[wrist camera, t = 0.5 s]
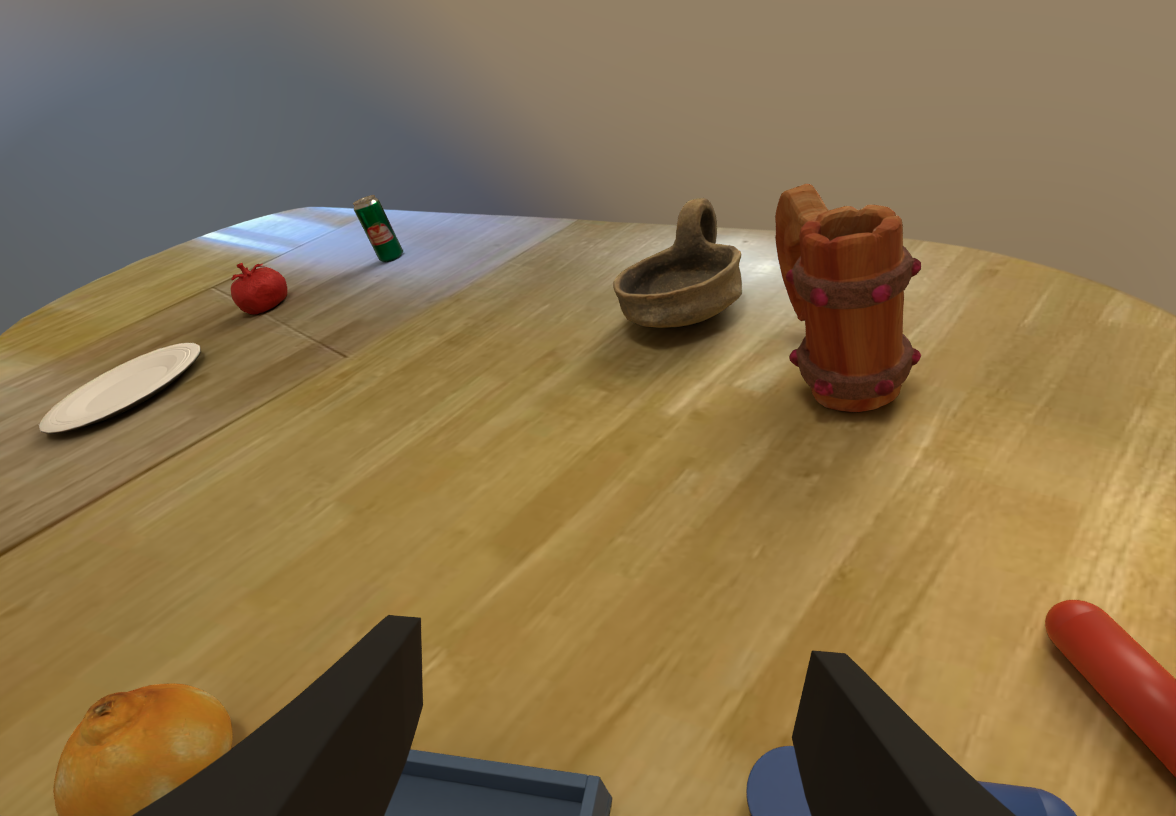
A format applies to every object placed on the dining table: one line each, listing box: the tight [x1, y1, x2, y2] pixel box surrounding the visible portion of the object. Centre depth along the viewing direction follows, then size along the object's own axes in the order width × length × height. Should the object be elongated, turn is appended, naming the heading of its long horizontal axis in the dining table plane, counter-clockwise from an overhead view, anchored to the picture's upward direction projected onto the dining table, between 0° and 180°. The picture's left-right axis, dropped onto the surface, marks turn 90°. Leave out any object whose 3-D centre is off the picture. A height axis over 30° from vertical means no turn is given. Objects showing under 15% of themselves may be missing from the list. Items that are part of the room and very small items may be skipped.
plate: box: [39, 343, 200, 434], centre depth 99 cm, size 25×25×2 cm
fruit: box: [53, 684, 232, 816], centre depth 34 cm, size 8×8×8 cm
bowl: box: [613, 198, 742, 328], centre depth 64 cm, size 14×18×10 cm
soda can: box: [353, 195, 403, 262], centre depth 117 cm, size 5×5×12 cm
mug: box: [775, 184, 921, 412], centre depth 46 cm, size 15×8×15 cm, turn 9°
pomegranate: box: [231, 263, 287, 315], centre depth 115 cm, size 10×10×9 cm
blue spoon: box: [747, 746, 1077, 816], centre depth 24 cm, size 12×4×3 cm, turn 76°
